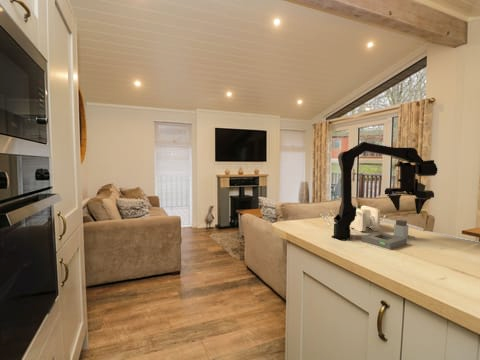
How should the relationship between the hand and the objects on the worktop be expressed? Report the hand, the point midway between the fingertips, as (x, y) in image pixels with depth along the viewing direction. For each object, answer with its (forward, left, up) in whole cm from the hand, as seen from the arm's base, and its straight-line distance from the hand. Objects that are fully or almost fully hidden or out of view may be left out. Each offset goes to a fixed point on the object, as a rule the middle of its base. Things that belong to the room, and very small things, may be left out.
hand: (407, 212), depth 112 cm
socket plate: (-2, -13, -13) cm, 19 cm away
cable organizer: (-21, 0, -13) cm, 25 cm away
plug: (-2, 0, -12) cm, 12 cm away
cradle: (-2, 0, -13) cm, 13 cm away
